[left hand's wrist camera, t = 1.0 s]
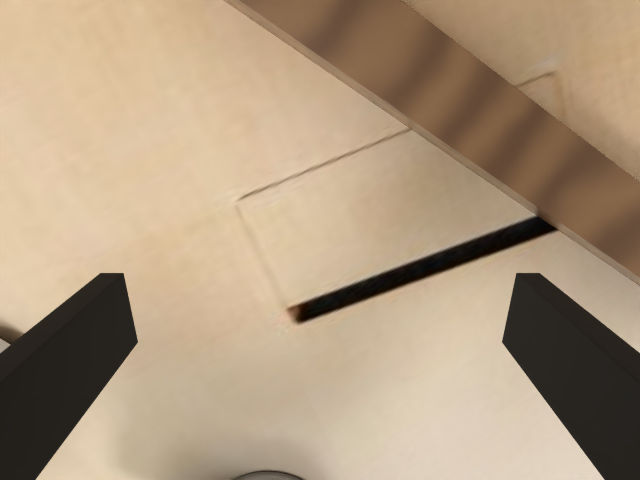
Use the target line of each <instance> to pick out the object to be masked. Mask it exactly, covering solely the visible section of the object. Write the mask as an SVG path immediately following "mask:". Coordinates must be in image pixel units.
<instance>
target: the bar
mask: <svg viewBox="0 0 640 480" xmlns="http://www.w3.org/2000/svg"><path fill="white" fill-rule="evenodd" d="M224 1H226V2H227V3H229V4H230V5H231V6H233V7H234V8H236V9H237V10H239V11H240V12H242V13H243V14H245V15H246V16H247V17H249V18H250V19H252V20H253V21H255V22H256V23H258V24H259V25H261V26H262V27H263V28H265V29H266V30H268V31H269V32H271V33H272V34H274V35H275V36H277V37H278V38H280V39H281V40H282V41H284V42H285V43H287V44H288V45H290V46H291V47H293V48H294V49H296V50H297V51H298V52H300V53H301V54H303V55H304V56H306V57H307V58H309V59H310V60H312V61H313V62H314V63H316V64H317V65H319V66H320V67H322V68H323V69H325V70H326V71H328V72H329V73H331V74H332V75H333V76H335V77H336V78H338V79H339V80H341V81H342V82H344V83H345V84H347V85H348V86H349V87H351V88H352V89H354V90H355V91H357V92H358V93H360V94H361V95H363V96H364V97H365V98H367V99H368V100H370V101H371V102H373V103H374V104H376V105H377V106H379V107H380V108H382V109H383V110H384V111H386V112H387V113H389V114H390V115H392V116H393V117H395V118H396V119H398V120H399V121H400V122H402V123H403V124H405V125H406V126H408V127H409V128H411V129H412V130H414V131H415V132H416V133H418V134H419V135H421V136H422V137H424V138H425V139H427V140H428V141H430V142H431V143H433V144H434V145H435V146H437V147H438V148H440V149H441V150H443V151H444V152H446V153H447V154H449V155H450V156H451V157H453V158H454V159H456V160H457V161H459V162H460V163H462V164H463V165H465V166H466V167H467V168H469V169H470V170H472V171H473V172H475V173H476V174H478V175H479V176H481V177H482V178H484V179H485V180H486V181H488V182H489V183H491V184H492V185H494V186H495V187H497V188H498V189H500V190H501V191H502V192H504V193H505V194H507V195H508V196H510V197H511V198H513V199H514V200H516V201H517V202H518V203H520V204H521V205H523V206H524V207H526V208H527V209H529V210H530V211H532V212H533V213H535V214H536V215H537V216H539V217H540V218H542V219H543V220H545V221H546V222H548V223H549V224H551V225H552V226H553V227H555V228H556V229H558V230H559V231H561V232H562V233H564V234H565V235H567V236H568V237H569V238H571V239H572V240H574V241H575V242H577V243H578V244H580V245H581V246H583V247H584V248H586V249H587V250H588V251H590V252H591V253H593V254H594V255H596V256H597V257H599V258H600V259H602V260H603V261H604V262H606V263H607V264H609V265H610V266H612V267H613V268H615V269H616V270H618V271H619V272H620V273H622V274H623V275H625V276H626V277H628V278H629V279H631V280H632V281H634V282H635V283H637V284H638V285H639V286H640V182H639V181H637V180H636V179H635V178H633V177H632V176H631V175H629V174H628V173H627V172H626V171H624V170H623V169H622V168H620V167H619V166H618V165H616V164H615V163H614V162H612V161H611V160H610V159H608V158H607V157H606V156H605V155H603V154H602V153H601V152H599V151H598V150H597V149H595V148H594V147H593V146H591V145H590V144H589V143H588V142H586V141H585V140H584V139H582V138H581V137H580V136H578V135H577V134H576V133H574V132H573V131H572V130H570V129H569V128H568V127H567V126H565V125H564V124H563V123H561V122H560V121H559V120H557V119H556V118H555V117H553V116H552V115H551V114H549V113H548V112H547V111H546V110H544V109H543V108H542V107H540V106H539V105H538V104H536V103H535V102H534V101H532V100H531V99H530V98H529V97H527V96H526V95H525V94H523V93H522V92H521V91H519V90H518V89H517V88H515V87H514V86H513V85H511V84H510V83H509V82H508V81H506V80H505V79H504V78H502V77H501V76H500V75H498V74H497V73H496V72H494V71H493V70H492V69H490V68H489V67H488V66H487V65H485V64H484V63H483V62H481V61H480V60H479V59H477V58H476V57H475V56H473V55H472V54H471V53H470V52H468V51H467V50H466V49H464V48H463V47H462V46H460V45H459V44H458V43H456V42H455V41H454V40H452V39H451V38H450V37H449V36H447V35H446V34H445V33H443V32H442V31H441V30H439V29H438V28H437V27H435V26H434V25H433V24H431V23H430V22H429V21H428V20H426V19H425V18H424V17H422V16H421V15H420V14H418V13H417V12H416V11H414V10H413V9H412V8H411V7H409V6H408V5H407V4H405V3H404V2H403V1H401V0H224Z"/></svg>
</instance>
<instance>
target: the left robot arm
mask: <svg viewBox="0 0 640 480" xmlns="http://www.w3.org/2000/svg"><path fill="white" fill-rule="evenodd" d="M137 343H138V340H137V335H136V331H135V326H134V321H133V316H132V312H131V307H130V302H129V297H128V292H127V288H126V283H125V278H124V273H100V274H99V275H98V276H96V277H95V278H94V279H93V280H91V281H90V282H89V283H88V284H86V285H85V286H84V287H83V288H81V289H80V290H79V291H78V292H76V293H75V294H74V295H73V296H71V297H70V298H69V299H68V300H66V301H65V302H64V303H63V304H61V305H60V306H59V307H58V308H56V309H55V310H54V311H53V312H51V313H50V314H49V315H47V316H46V317H45V318H44V319H42V320H41V321H40V322H39V323H37V324H36V325H35V326H34V327H32V328H31V329H30V330H29V331H27V332H26V333H25V334H24V335H22V336H21V337H20V338H19V339H17V340H16V341H15V342H14V343H12V344H11V345H10V346H9V347H7V348H6V349H5V350H4V351H2V352H1V353H0V480H36V478H37V477H38V475H39V474H40V473H41V471H42V470H43V469H44V467H45V466H46V465H47V463H48V462H49V461H50V459H51V458H52V457H53V455H54V454H55V453H56V451H57V450H58V449H59V447H60V446H61V445H62V443H63V442H64V441H65V439H66V438H67V437H68V435H69V434H70V433H71V431H72V430H73V429H74V427H75V426H76V425H77V423H78V422H79V421H80V419H81V418H82V416H83V415H84V414H85V412H86V411H87V410H88V408H89V407H90V406H91V404H92V403H93V402H94V400H95V399H96V398H97V396H98V395H99V394H100V392H101V391H102V390H103V388H104V387H105V386H106V384H107V383H108V382H109V380H110V379H111V378H112V376H113V375H114V374H115V372H116V371H117V370H118V368H119V367H120V366H121V364H122V363H123V362H124V360H125V359H126V357H127V356H128V355H129V353H130V352H131V351H132V349H133V348H134V347H135V345H136V344H137ZM502 343H503V344H504V345H505V347H506V348H507V349H508V351H509V352H510V353H511V355H512V356H513V357H514V359H515V360H516V362H517V363H518V364H519V366H520V367H521V368H522V370H523V371H524V372H525V374H526V375H527V376H528V378H529V379H530V380H531V382H532V383H533V384H534V386H535V387H536V388H537V390H538V391H539V392H540V394H541V395H542V396H543V398H544V399H545V400H546V402H547V403H548V404H549V406H550V407H551V408H552V410H553V411H554V412H555V414H556V415H557V416H558V418H559V419H560V421H561V422H562V423H563V425H564V426H565V427H566V429H567V430H568V431H569V433H570V434H571V435H572V437H573V438H574V439H575V441H576V442H577V443H578V445H579V446H580V447H581V449H582V450H583V451H584V453H585V454H586V455H587V457H588V458H589V459H590V461H591V462H592V463H593V465H594V466H595V467H596V469H597V470H598V471H599V473H600V474H601V475H602V477H603V478H604V480H640V353H639V352H638V351H636V350H635V349H634V348H633V347H631V346H630V345H629V344H628V343H626V342H625V341H624V340H623V339H621V338H620V337H619V336H618V335H616V334H615V333H614V332H613V331H611V330H610V329H609V328H608V327H606V326H605V325H604V324H603V323H601V322H600V321H599V320H598V319H596V318H595V317H594V316H593V315H591V314H590V313H589V312H587V311H586V310H585V309H584V308H582V307H581V306H580V305H579V304H577V303H576V302H575V301H574V300H572V299H571V298H570V297H569V296H567V295H566V294H565V293H564V292H562V291H561V290H560V289H559V288H557V287H556V286H555V285H554V284H552V283H551V282H550V281H549V280H547V279H546V278H545V277H544V276H542V275H541V274H540V273H516V278H515V283H514V288H513V292H512V297H511V302H510V307H509V312H508V316H507V321H506V326H505V331H504V335H503V340H502ZM235 480H301V479H299V478H297V477H294V476H291V475H288V474H284V473H278V472H257V473H251V474H247V475H244V476H241V477H239V478H237V479H235Z"/></svg>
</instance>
